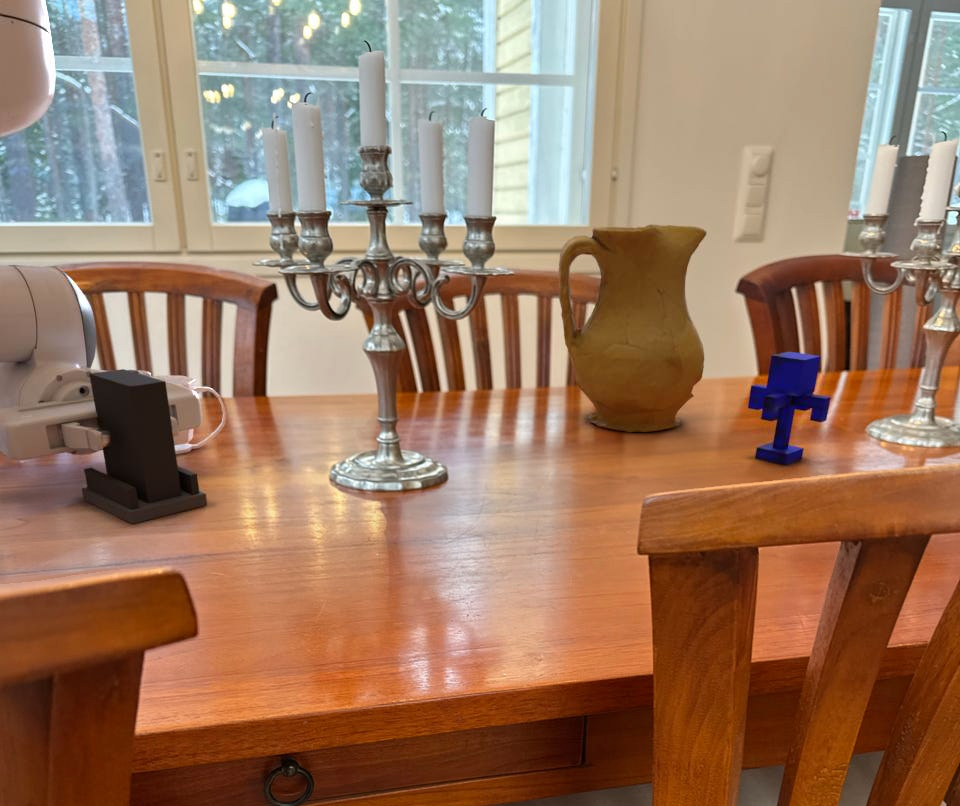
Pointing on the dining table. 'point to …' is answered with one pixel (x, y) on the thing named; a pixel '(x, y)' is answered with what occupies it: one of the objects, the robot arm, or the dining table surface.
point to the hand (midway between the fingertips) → (139, 434)
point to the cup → (187, 435)
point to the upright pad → (137, 432)
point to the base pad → (133, 510)
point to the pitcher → (635, 326)
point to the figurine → (788, 402)
